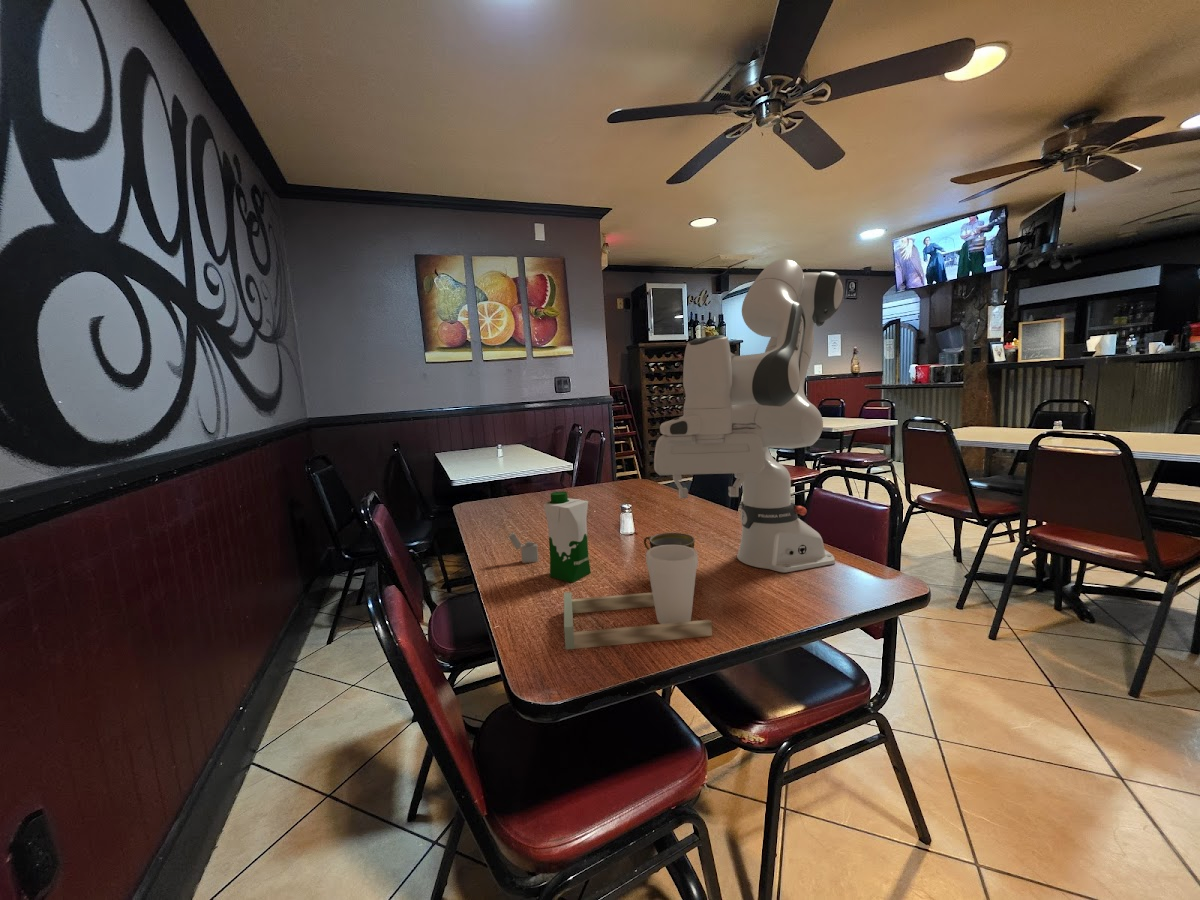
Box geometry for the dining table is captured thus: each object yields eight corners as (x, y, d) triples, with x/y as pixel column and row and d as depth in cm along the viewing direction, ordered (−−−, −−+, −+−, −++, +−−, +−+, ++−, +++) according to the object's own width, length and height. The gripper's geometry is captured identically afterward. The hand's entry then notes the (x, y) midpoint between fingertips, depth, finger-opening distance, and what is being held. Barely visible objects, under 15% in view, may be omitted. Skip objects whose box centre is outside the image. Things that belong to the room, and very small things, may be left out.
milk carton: (568, 565, 117) (563, 488, 115) (596, 572, 112) (592, 491, 109) (544, 577, 110) (538, 496, 108) (573, 585, 105) (567, 499, 102)
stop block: (572, 611, 92) (571, 592, 92) (574, 648, 78) (573, 626, 78) (565, 611, 92) (563, 592, 92) (565, 649, 78) (564, 627, 78)
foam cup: (665, 637, 81) (662, 565, 79) (640, 615, 89) (637, 550, 88) (709, 623, 84) (708, 555, 83) (681, 604, 93) (679, 541, 91)
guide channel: (689, 600, 94) (689, 589, 94) (711, 635, 80) (711, 622, 80) (572, 611, 92) (571, 599, 92) (574, 648, 78) (573, 634, 78)
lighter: (538, 559, 123) (536, 530, 122) (537, 561, 121) (535, 532, 120) (511, 561, 123) (509, 532, 122) (510, 564, 121) (508, 534, 120)
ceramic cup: (704, 580, 104) (703, 537, 102) (678, 595, 97) (677, 549, 95) (658, 567, 113) (657, 528, 112) (632, 580, 106) (630, 538, 105)
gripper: (758, 421, 88) (758, 492, 90) (652, 424, 89) (653, 495, 90) (769, 423, 82) (769, 499, 84) (655, 426, 83) (656, 502, 84)
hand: (708, 497), depth 87 cm, fingers open, 8 cm apart
